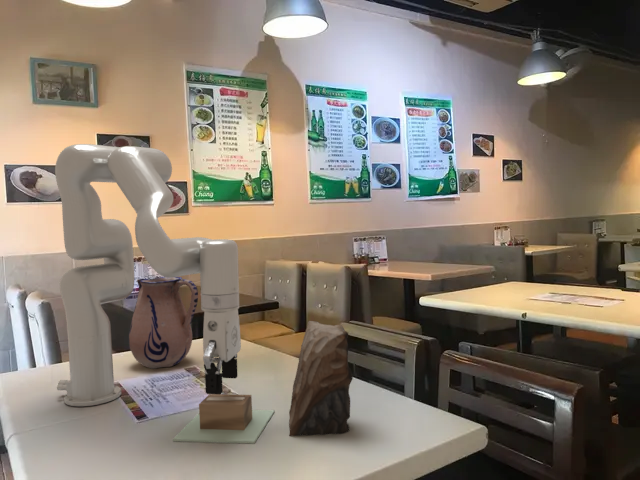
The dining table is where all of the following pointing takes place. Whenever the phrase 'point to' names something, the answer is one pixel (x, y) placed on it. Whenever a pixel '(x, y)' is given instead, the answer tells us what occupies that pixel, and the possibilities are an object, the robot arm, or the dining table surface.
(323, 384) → the brown rock
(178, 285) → the ceramic pitcher
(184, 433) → the mat
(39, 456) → the dining table surface
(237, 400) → the cardboard box
